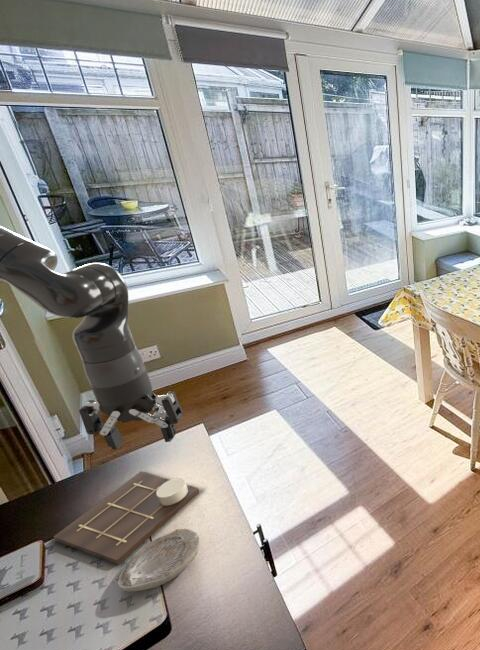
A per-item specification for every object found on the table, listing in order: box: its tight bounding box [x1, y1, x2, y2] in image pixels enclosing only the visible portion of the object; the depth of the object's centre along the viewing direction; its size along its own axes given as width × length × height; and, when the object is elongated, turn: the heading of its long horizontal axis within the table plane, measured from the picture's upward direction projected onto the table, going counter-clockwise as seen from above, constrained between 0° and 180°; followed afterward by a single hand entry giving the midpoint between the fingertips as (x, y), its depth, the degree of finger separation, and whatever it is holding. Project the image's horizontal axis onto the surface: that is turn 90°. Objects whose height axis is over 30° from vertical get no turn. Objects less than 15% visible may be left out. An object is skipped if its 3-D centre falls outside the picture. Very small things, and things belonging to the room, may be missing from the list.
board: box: [53, 470, 200, 565], centre depth 83 cm, size 16×16×1 cm
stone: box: [156, 477, 188, 506], centre depth 86 cm, size 5×5×2 cm
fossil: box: [117, 528, 200, 592], centre depth 74 cm, size 10×12×3 cm
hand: (144, 442), depth 80 cm, fingers open, 8 cm apart
